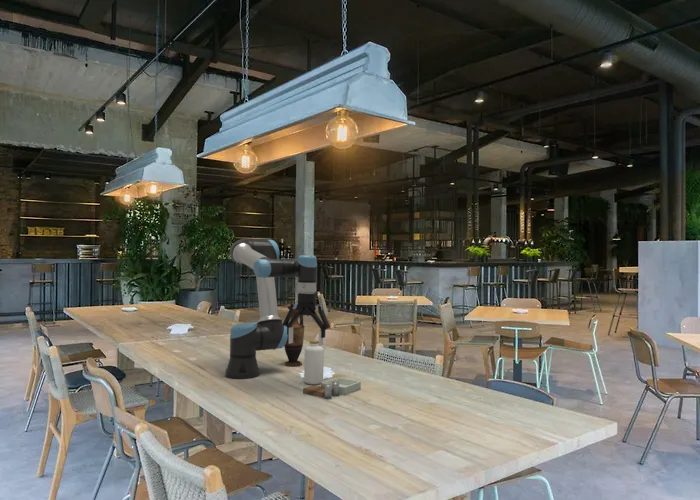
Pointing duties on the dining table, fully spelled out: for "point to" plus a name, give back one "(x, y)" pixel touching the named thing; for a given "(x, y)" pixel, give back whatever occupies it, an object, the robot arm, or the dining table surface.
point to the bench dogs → (331, 390)
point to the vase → (295, 341)
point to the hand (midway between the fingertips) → (305, 344)
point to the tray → (344, 385)
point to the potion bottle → (313, 363)
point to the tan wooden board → (314, 391)
